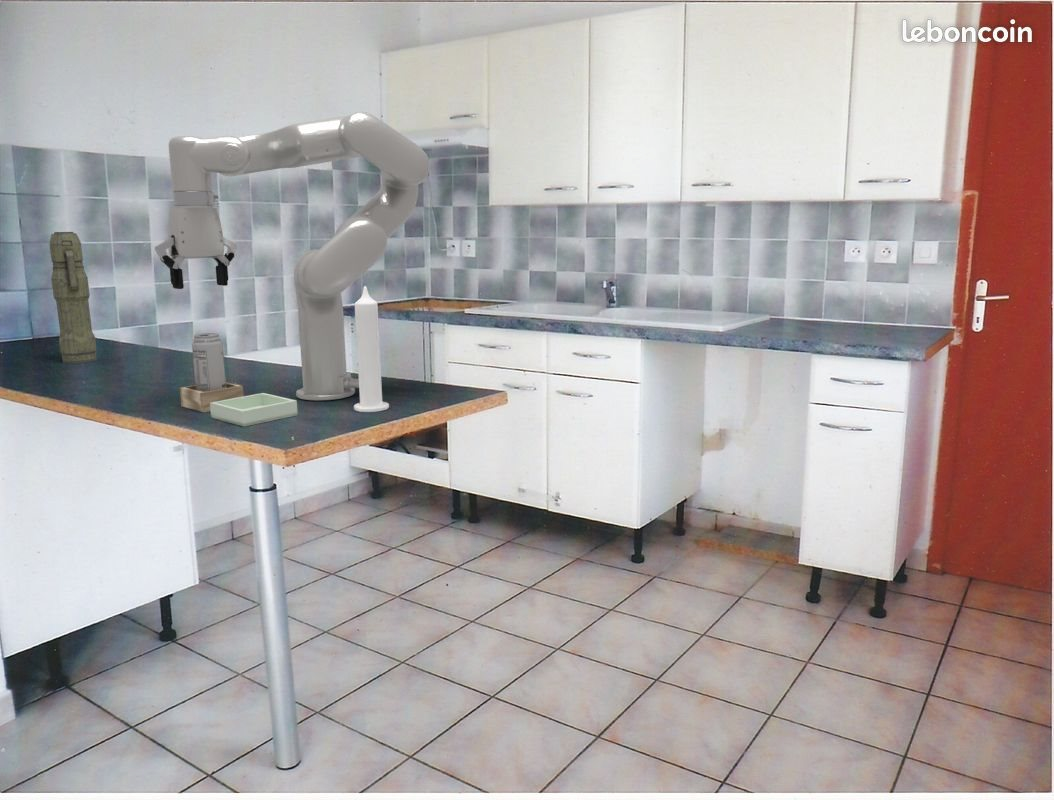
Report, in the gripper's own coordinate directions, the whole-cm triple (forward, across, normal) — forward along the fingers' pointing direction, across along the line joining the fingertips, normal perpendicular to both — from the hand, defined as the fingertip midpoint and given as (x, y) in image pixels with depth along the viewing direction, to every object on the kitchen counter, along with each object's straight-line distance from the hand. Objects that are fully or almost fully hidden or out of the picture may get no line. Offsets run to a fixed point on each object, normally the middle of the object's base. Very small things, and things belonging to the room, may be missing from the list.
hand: (200, 286), depth 179 cm
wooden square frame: (+25, 0, 0) cm, 25 cm away
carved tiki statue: (+25, -7, -82) cm, 86 cm away
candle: (+25, -19, +29) cm, 43 cm away
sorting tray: (+25, 0, +16) cm, 30 cm away
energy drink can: (+25, 0, 0) cm, 25 cm away
